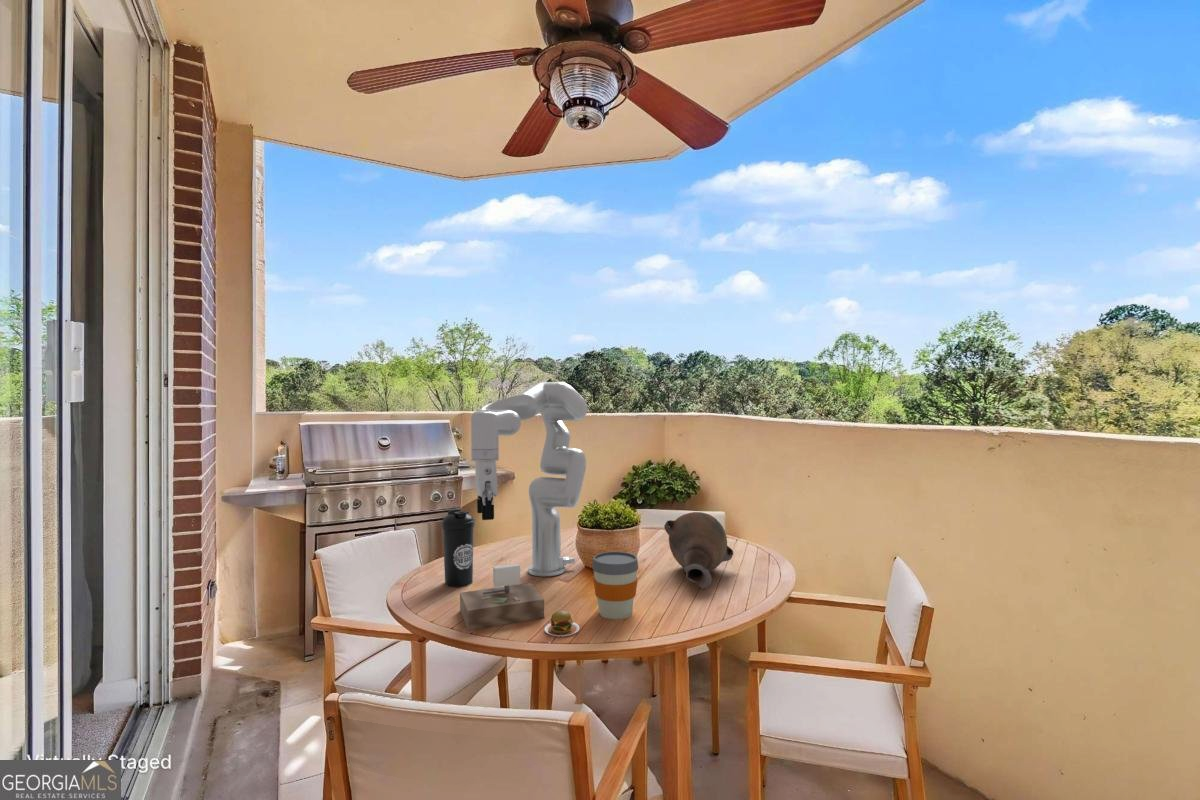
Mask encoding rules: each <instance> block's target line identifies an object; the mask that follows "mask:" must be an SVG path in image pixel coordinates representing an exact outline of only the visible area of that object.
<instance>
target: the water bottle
mask: <svg viewBox="0 0 1200 800" xmlns="http://www.w3.org/2000/svg"><path fill="white" fill-rule="evenodd" d="M475 521H476V519H475V518H474V517H473V516H472V515H471V513H470V511H469V510H462V509H461V508H451V509H448V511H447V515H445V517H444V518H443V519H442V520H441V530H442V539H443V540H442V541H443V561H444V564H443V565H444V568H443V569H444V585H445V586H447V587H448V588H449V587H451V588H462V587H466V586H469V585H471V584H472V583H473V581H474V579H473V578H474V576H473V575H474V528H475V526H476V523H475Z"/></svg>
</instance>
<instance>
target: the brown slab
mask: <svg viewBox="0 0 1200 800" xmlns="http://www.w3.org/2000/svg"><path fill="white" fill-rule="evenodd" d="M500 589H504V586H500V587H493V588H491V587H490V588H485V589H479V590H471V591H463V592H459V611H460V614H461V616H462V619H463V622H464V623H465V626H466V629H467V631H472V630H479V629H486V628H491V627H497V626H503V625H509V624H515V623H516V624H517V623H522V622H527V621H528V622H529V621H533V620H534V621H535V620H539V619H540V620H541V619H545V599H544V597H543V595H541V593H540V592H539V591H538V590H537V588H535V586H534V585H533V584H532V583H531V582H529V583H520V584H515V585H509V590H510V591H509V592H498V593H490V594H483V592H485V591H492V590H500Z"/></svg>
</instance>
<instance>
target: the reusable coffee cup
mask: <svg viewBox="0 0 1200 800" xmlns="http://www.w3.org/2000/svg"><path fill="white" fill-rule="evenodd" d="M592 559H593V560H592V571H593V576H594V577H593V579H592V580H593V587H594V593H595V597H596V598H597V604H598V605H597V606H598V613H600V614H599V615H600V616H601V617H603V618H606V619H609V620H620V619H621V620H623V619H626V618H629V617H631V616H632V614H633V608H634V600H635V597H636V594H637V587H638V576H637V573H638V570H639V561H638V556H637V555H635V554H633V553H631V552H627V551H606V552H605V551H604V552H600V553H596V554H595V555H594V556H593V558H592Z"/></svg>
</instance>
